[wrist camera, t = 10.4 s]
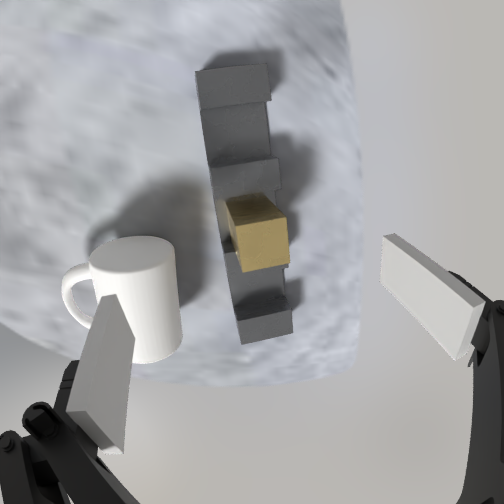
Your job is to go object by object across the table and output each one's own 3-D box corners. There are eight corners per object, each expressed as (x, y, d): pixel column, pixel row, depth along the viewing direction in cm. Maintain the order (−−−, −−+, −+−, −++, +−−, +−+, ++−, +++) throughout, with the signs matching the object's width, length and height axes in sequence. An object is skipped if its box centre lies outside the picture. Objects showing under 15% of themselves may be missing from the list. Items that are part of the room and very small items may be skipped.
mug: (175, 233, 30) (172, 269, 23) (182, 315, 34) (183, 363, 27) (66, 239, 28) (36, 274, 21) (85, 317, 32) (67, 363, 25)
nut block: (225, 202, 30) (235, 226, 23) (265, 195, 30) (286, 217, 24) (231, 240, 31) (242, 272, 25) (269, 233, 32) (290, 262, 26)
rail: (194, 76, 24) (195, 71, 22) (259, 68, 25) (266, 63, 23) (237, 328, 37) (241, 344, 34) (285, 317, 37) (293, 332, 35)
